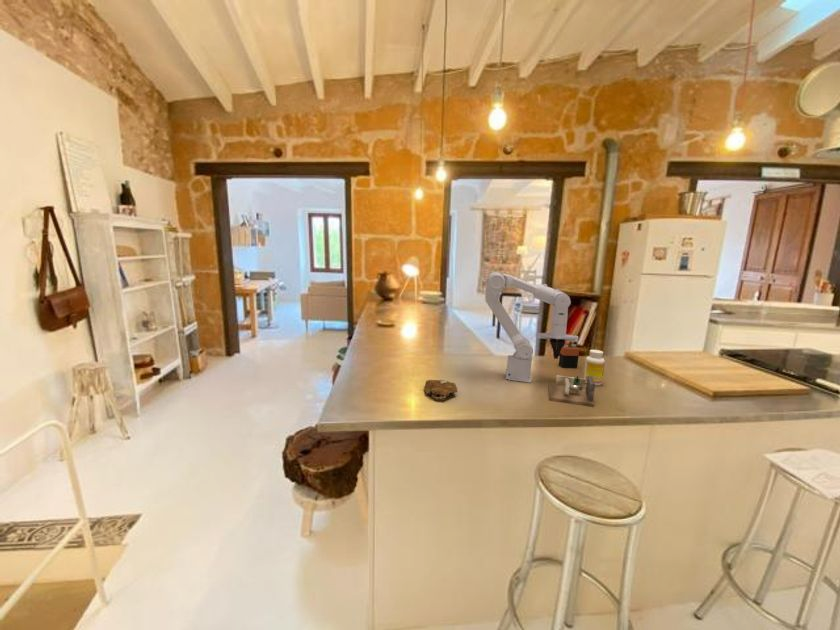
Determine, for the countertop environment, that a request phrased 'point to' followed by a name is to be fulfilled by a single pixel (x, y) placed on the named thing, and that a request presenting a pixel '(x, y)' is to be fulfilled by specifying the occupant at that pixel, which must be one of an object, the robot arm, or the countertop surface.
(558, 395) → the base
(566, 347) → the battery
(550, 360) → the countertop surface
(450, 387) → the decorative rock
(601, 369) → the supplement bottle
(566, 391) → the silver cylinder with block
